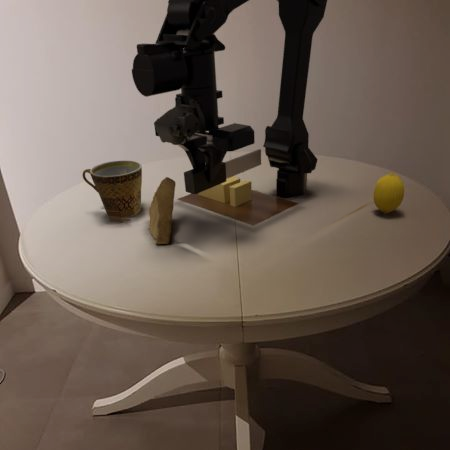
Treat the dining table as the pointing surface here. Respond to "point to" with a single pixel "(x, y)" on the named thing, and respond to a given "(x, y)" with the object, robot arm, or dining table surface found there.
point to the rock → (162, 211)
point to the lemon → (388, 193)
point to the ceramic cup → (118, 188)
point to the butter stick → (221, 190)
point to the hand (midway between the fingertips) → (206, 181)
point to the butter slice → (240, 193)
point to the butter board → (243, 207)
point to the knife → (220, 172)
